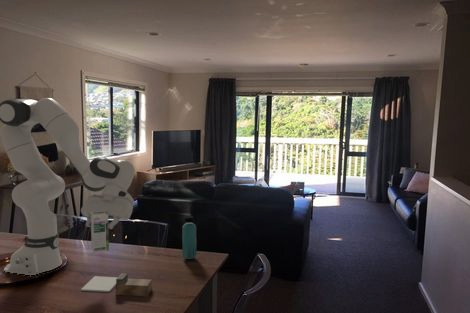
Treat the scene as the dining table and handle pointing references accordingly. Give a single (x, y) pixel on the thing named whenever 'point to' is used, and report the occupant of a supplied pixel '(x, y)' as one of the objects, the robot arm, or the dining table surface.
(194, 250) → the beverage bottle
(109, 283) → the felt pad
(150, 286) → the brown wooden block
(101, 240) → the syrup box
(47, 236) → the robot arm
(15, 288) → the dining table surface
